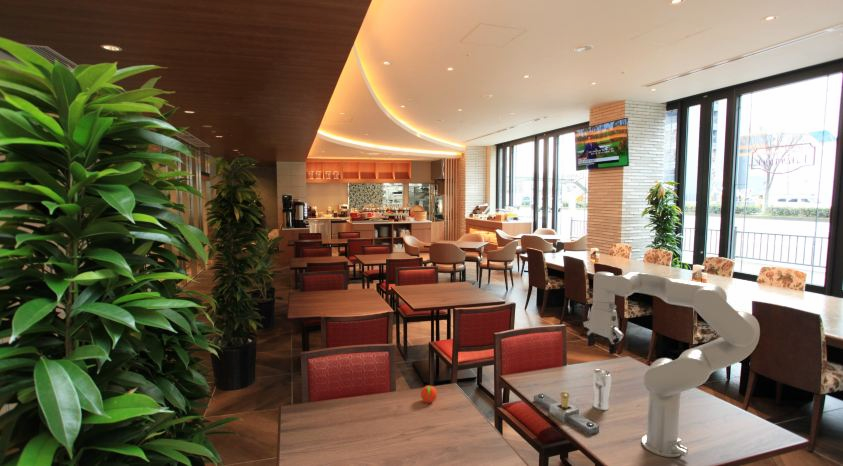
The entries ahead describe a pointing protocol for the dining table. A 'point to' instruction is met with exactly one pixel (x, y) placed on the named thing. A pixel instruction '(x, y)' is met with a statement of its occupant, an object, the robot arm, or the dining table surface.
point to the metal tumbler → (601, 388)
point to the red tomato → (428, 394)
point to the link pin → (564, 400)
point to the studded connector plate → (567, 414)
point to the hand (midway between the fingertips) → (601, 349)
